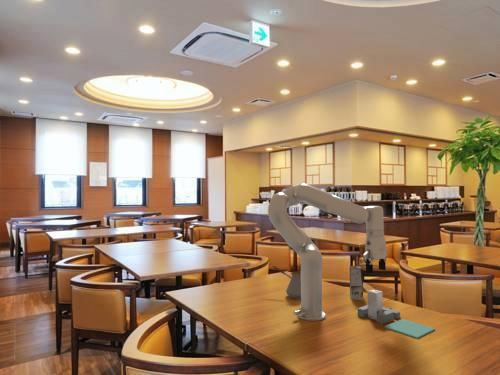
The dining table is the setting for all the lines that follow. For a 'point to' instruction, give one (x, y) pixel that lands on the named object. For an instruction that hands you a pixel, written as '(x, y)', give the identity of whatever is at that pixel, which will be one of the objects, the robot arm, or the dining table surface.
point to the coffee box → (356, 282)
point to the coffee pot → (293, 284)
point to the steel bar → (374, 303)
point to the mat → (409, 328)
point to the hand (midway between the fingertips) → (375, 271)
